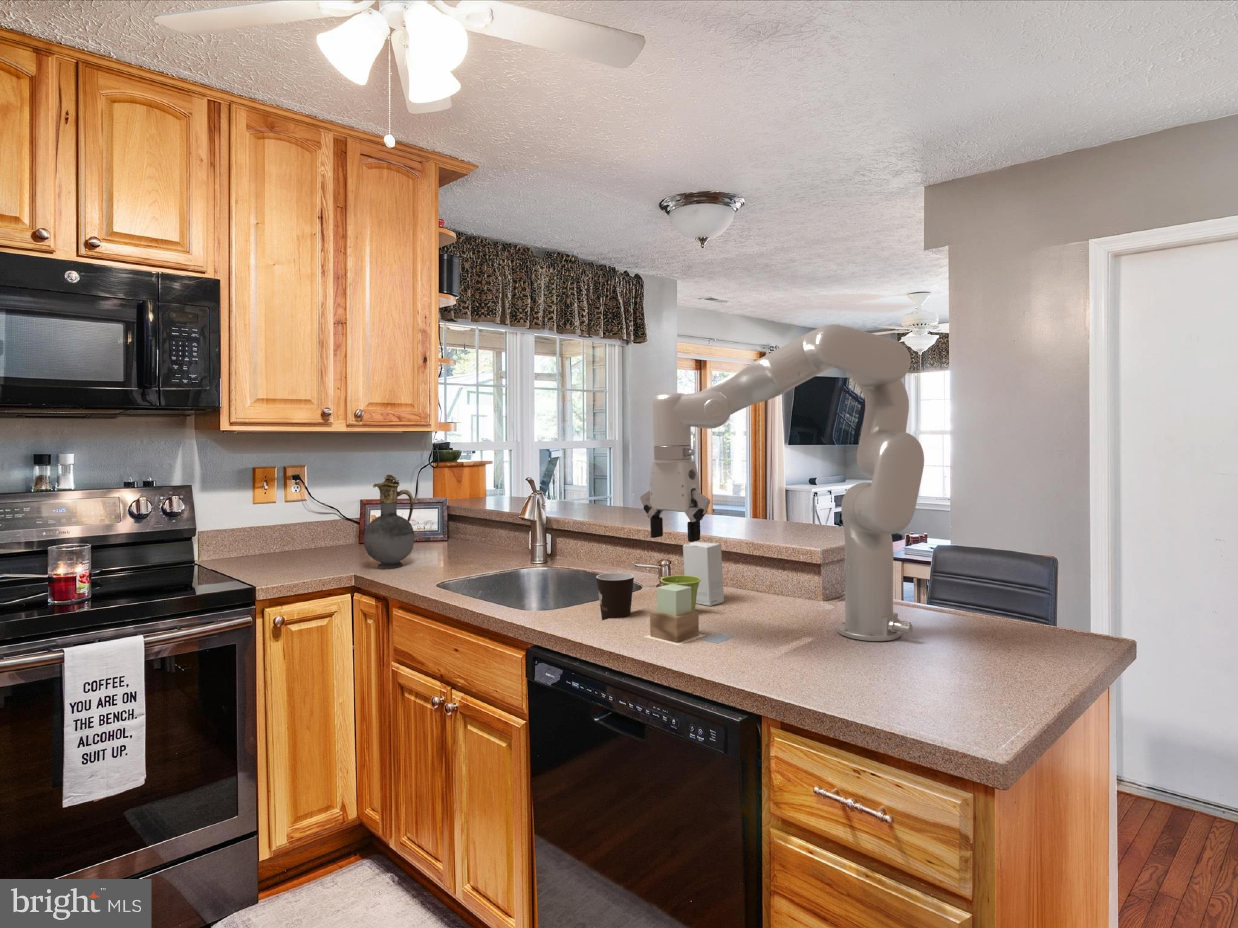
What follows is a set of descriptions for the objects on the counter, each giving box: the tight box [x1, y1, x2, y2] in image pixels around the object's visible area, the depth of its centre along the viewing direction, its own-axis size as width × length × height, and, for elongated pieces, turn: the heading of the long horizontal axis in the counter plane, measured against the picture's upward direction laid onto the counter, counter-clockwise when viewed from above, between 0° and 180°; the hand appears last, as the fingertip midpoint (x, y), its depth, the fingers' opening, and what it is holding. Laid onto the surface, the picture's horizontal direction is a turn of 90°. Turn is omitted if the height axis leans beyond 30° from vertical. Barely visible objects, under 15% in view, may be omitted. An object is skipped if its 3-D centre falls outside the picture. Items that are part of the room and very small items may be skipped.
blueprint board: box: [643, 632, 735, 646], centre depth 148 cm, size 20×16×1 cm
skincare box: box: [682, 541, 725, 607], centre depth 182 cm, size 8×6×15 cm
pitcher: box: [363, 474, 415, 570], centre depth 237 cm, size 11×19×30 cm, turn 153°
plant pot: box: [660, 574, 701, 611], centre depth 169 cm, size 9×9×9 cm
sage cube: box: [656, 584, 692, 616], centre depth 148 cm, size 5×5×5 cm
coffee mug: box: [595, 572, 635, 621], centre depth 168 cm, size 12×9×10 cm
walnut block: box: [649, 609, 700, 643], centre depth 148 cm, size 7×7×5 cm
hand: (675, 539), depth 148 cm, fingers open, 9 cm apart
